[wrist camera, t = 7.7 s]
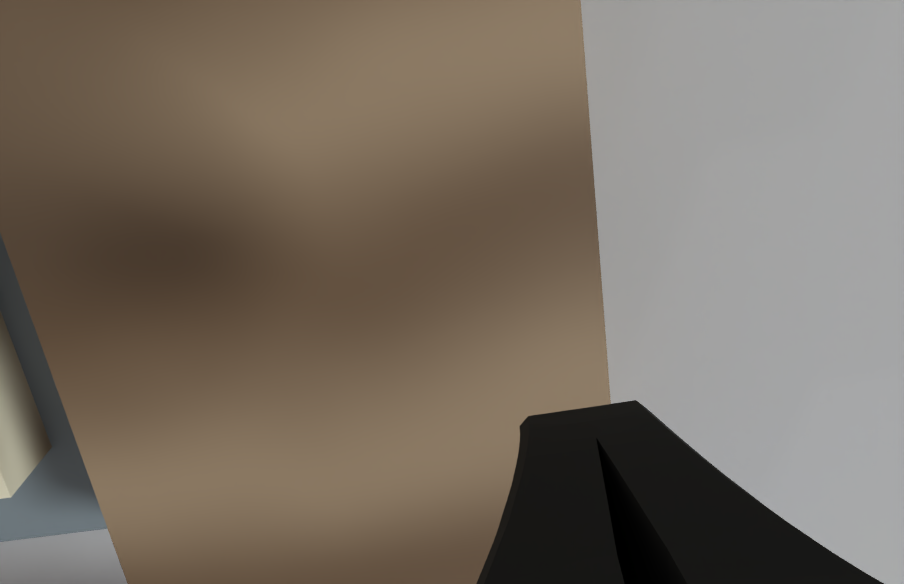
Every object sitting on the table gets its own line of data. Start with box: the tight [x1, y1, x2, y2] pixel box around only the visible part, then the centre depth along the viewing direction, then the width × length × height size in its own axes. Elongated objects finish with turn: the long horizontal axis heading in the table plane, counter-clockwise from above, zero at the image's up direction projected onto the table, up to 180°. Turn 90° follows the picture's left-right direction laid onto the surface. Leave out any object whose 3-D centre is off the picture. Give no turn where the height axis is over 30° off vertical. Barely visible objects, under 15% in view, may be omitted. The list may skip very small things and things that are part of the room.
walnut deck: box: [0, 0, 611, 584], centre depth 16 cm, size 14×10×4 cm
